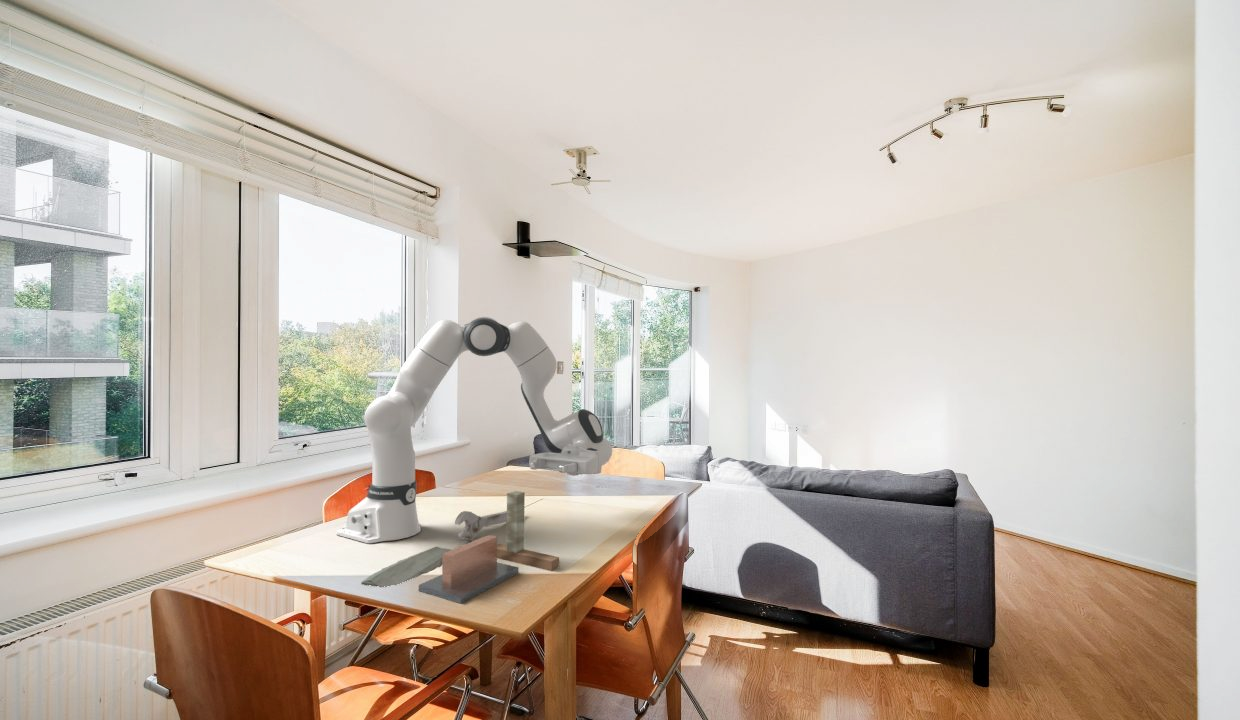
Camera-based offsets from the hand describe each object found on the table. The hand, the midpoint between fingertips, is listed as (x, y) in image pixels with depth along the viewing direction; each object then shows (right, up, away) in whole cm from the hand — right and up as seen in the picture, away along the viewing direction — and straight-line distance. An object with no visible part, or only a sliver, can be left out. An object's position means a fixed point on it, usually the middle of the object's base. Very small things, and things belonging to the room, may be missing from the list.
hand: (546, 467), depth 142 cm
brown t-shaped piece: (-6, -20, -11) cm, 24 cm away
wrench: (-17, -21, +12) cm, 30 cm away
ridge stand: (-13, -20, -24) cm, 34 cm away
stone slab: (-29, -21, -17) cm, 40 cm away
